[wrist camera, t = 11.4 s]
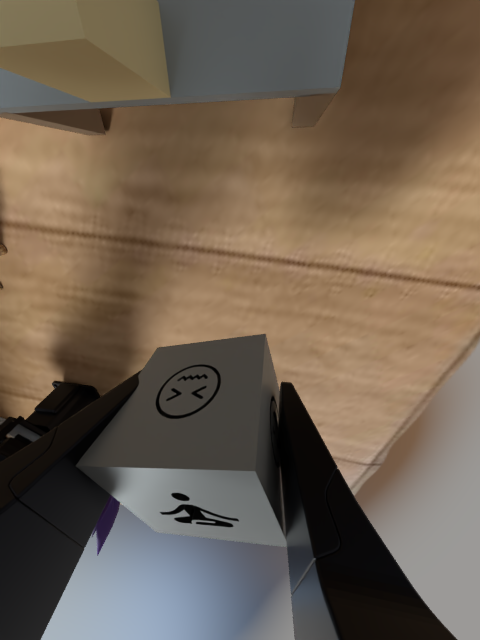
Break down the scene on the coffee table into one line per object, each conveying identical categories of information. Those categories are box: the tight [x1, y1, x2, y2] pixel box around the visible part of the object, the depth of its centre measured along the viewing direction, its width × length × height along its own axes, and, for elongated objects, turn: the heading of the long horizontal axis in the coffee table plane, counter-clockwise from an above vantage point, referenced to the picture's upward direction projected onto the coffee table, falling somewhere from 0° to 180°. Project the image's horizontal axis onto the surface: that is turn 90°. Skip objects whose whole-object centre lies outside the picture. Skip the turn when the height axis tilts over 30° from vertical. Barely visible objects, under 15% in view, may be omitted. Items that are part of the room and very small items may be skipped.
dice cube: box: [76, 334, 287, 547], centre depth 9 cm, size 5×5×5 cm
